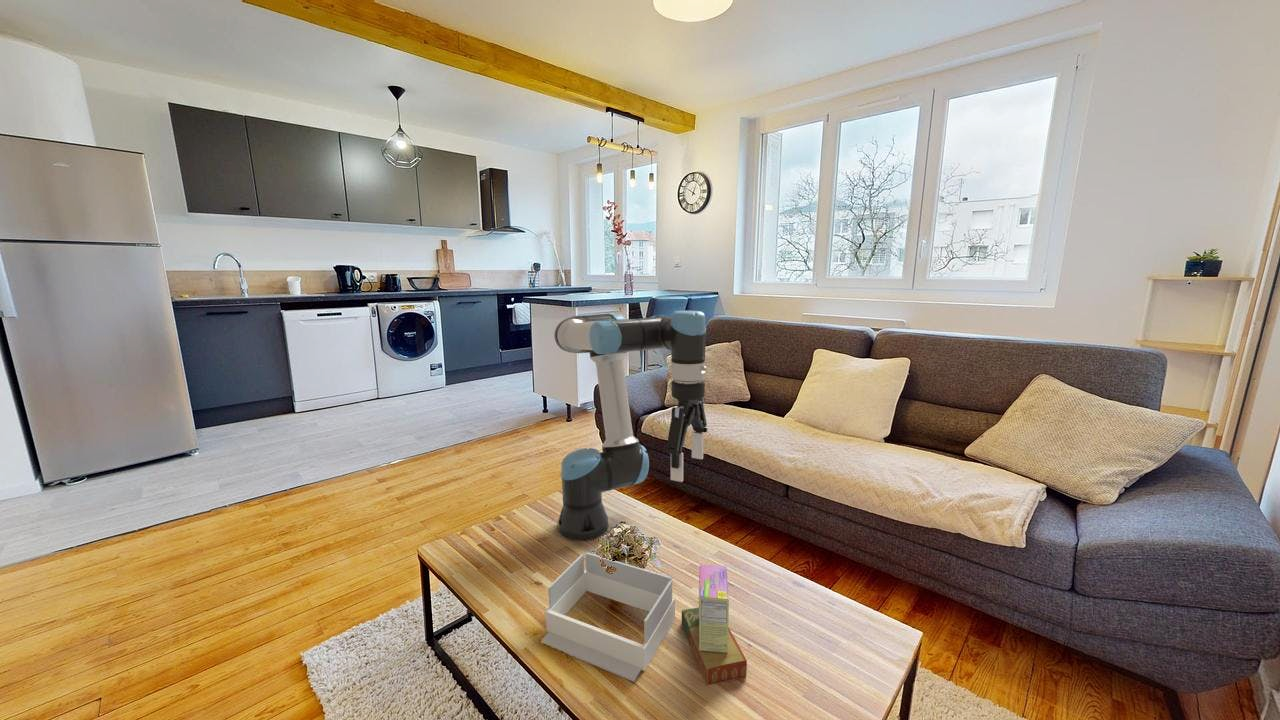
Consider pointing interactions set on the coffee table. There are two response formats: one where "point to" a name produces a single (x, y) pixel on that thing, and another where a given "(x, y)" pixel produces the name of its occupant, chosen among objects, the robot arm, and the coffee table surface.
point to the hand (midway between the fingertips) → (687, 468)
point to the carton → (714, 653)
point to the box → (713, 608)
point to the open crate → (619, 586)
